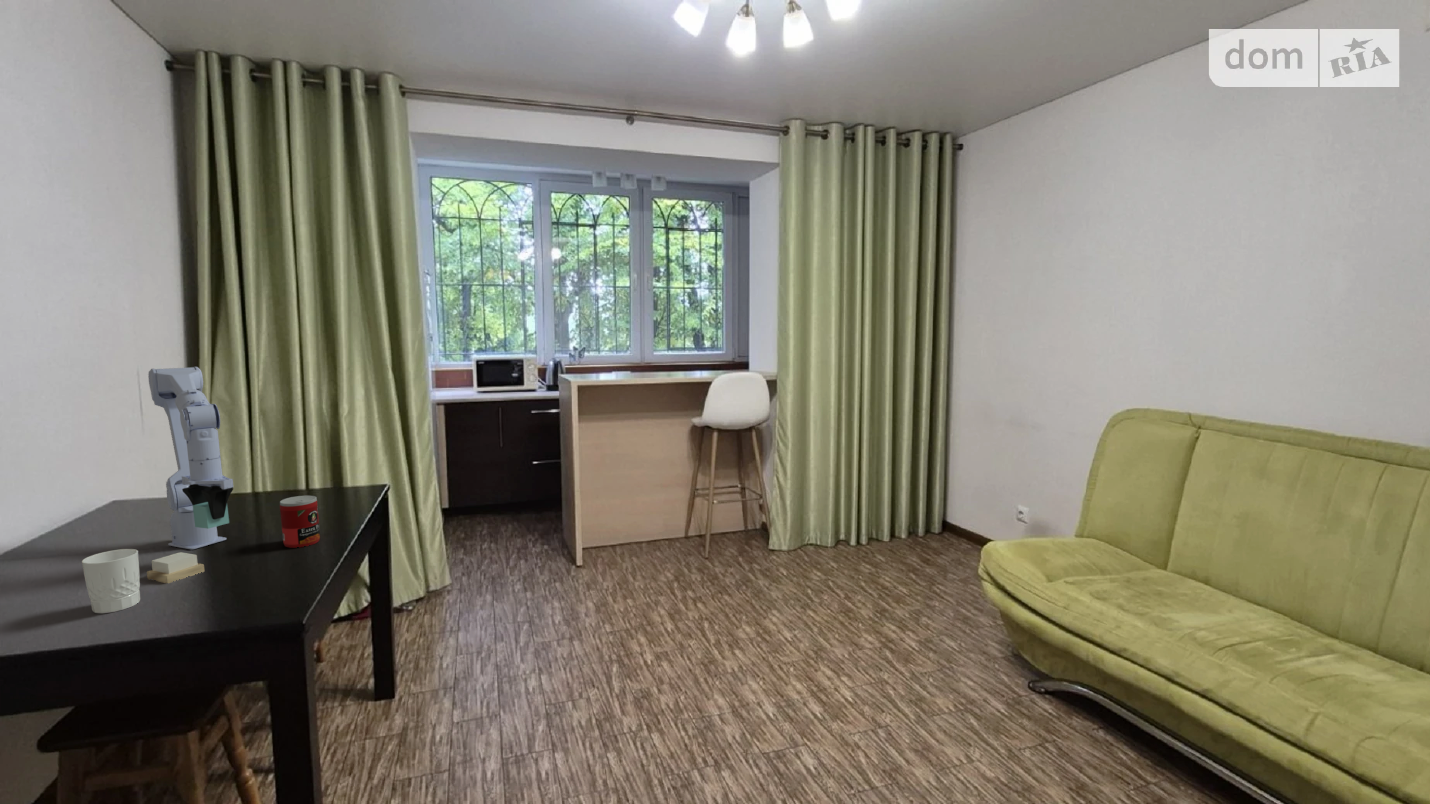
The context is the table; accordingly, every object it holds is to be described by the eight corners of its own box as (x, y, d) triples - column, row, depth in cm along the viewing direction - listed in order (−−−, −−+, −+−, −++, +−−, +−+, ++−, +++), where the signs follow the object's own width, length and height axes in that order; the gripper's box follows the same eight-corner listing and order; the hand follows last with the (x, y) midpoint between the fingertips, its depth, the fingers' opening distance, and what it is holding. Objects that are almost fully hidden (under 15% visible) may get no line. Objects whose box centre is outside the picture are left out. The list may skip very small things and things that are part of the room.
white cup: (111, 598, 128) (105, 549, 127) (154, 596, 129) (148, 547, 128) (76, 616, 121) (69, 564, 119) (122, 614, 121) (115, 562, 120)
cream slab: (152, 570, 139) (151, 560, 138) (181, 561, 144) (180, 552, 143) (169, 573, 137) (167, 563, 136) (197, 564, 142) (196, 554, 142)
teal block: (195, 526, 147) (192, 505, 147) (216, 521, 152) (213, 500, 151) (208, 528, 146) (205, 506, 145) (229, 522, 150) (226, 501, 149)
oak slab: (147, 581, 138) (146, 571, 138) (184, 569, 145) (183, 560, 145) (168, 586, 136) (166, 575, 136) (204, 574, 142) (203, 564, 142)
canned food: (303, 549, 156) (299, 504, 154) (275, 547, 157) (270, 503, 156) (328, 538, 163) (324, 496, 162) (301, 537, 165) (297, 494, 163)
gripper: (164, 460, 146) (170, 519, 147) (206, 464, 140) (213, 525, 142) (198, 454, 152) (204, 510, 154) (240, 457, 147) (246, 516, 149)
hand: (211, 517), depth 148 cm, fingers closed on teal block, 4 cm apart
